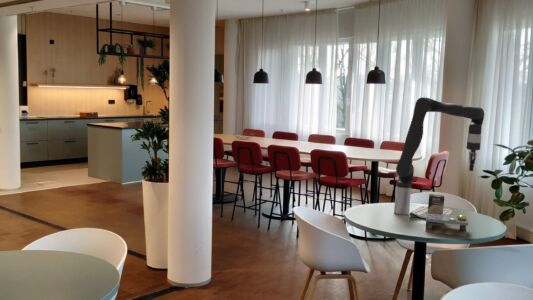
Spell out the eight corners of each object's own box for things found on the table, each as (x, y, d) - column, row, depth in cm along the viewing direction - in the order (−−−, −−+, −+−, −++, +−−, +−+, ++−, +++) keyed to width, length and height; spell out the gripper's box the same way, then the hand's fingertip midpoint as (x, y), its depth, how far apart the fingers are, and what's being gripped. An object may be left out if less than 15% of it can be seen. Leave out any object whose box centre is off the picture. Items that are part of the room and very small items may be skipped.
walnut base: (425, 231, 305) (426, 221, 304) (425, 224, 321) (426, 215, 321) (467, 236, 299) (468, 226, 298) (465, 229, 315) (466, 219, 314)
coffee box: (426, 221, 328) (428, 195, 326) (426, 219, 334) (428, 193, 332) (442, 223, 325) (444, 197, 323) (442, 221, 331) (444, 195, 329)
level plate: (426, 221, 305) (426, 215, 304) (426, 214, 320) (427, 209, 320) (468, 225, 299) (468, 219, 298) (466, 219, 314) (466, 213, 313)
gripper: (466, 140, 325) (463, 168, 327) (467, 142, 312) (465, 171, 315) (479, 141, 323) (476, 169, 325) (481, 143, 310) (478, 173, 313)
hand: (471, 170), depth 320 cm, fingers closed
